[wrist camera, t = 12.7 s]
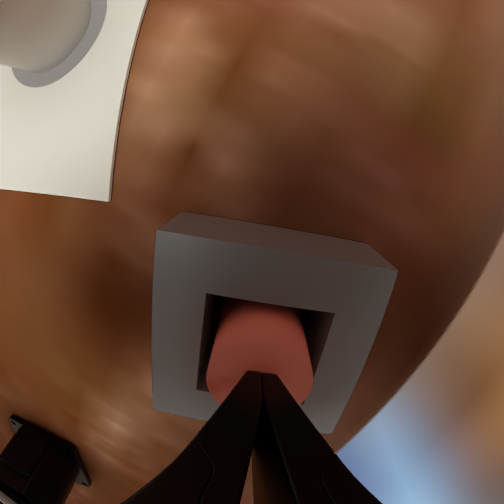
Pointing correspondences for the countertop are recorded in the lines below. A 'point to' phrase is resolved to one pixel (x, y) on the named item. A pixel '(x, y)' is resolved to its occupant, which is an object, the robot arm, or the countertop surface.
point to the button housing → (266, 291)
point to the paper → (70, 110)
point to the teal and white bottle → (41, 32)
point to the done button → (259, 348)
